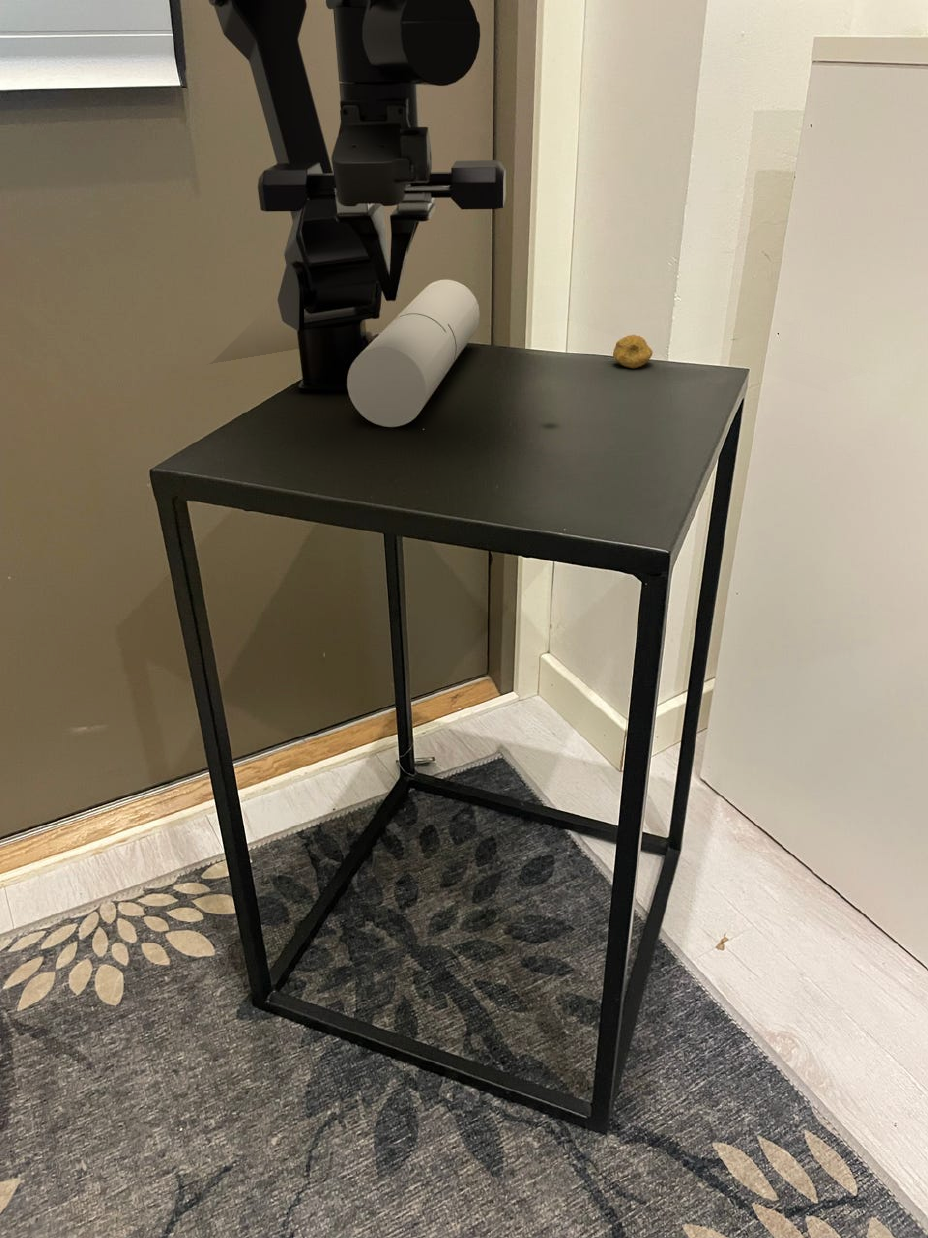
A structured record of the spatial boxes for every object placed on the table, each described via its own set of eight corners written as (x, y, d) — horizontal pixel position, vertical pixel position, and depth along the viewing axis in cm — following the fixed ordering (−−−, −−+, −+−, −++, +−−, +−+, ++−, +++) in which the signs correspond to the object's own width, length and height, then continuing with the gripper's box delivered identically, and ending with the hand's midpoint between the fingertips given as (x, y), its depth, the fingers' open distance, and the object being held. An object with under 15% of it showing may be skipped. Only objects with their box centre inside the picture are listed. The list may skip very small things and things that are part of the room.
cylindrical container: (439, 410, 80) (490, 331, 101) (403, 333, 77) (462, 268, 98) (370, 437, 83) (433, 355, 104) (332, 364, 80) (405, 295, 101)
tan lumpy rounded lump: (606, 364, 96) (608, 337, 94) (634, 357, 98) (636, 329, 96) (630, 372, 93) (633, 344, 92) (658, 364, 95) (661, 337, 94)
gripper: (221, 90, 62) (255, 326, 70) (500, 85, 60) (500, 326, 69) (264, 82, 71) (289, 291, 79) (506, 77, 70) (505, 290, 78)
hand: (391, 299), depth 76 cm, fingers closed
